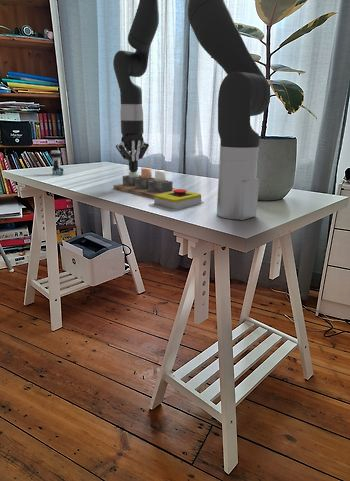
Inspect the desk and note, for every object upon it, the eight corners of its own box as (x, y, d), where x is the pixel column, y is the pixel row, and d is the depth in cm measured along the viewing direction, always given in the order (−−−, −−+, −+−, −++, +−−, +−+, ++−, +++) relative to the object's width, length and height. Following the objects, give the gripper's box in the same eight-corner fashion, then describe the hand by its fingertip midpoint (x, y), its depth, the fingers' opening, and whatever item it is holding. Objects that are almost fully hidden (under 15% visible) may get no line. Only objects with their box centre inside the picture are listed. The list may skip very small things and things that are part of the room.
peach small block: (153, 180, 115) (153, 168, 113) (145, 181, 113) (145, 169, 111) (147, 179, 117) (146, 167, 116) (139, 180, 115) (139, 168, 114)
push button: (69, 174, 147) (66, 150, 144) (59, 176, 143) (56, 151, 140) (58, 173, 151) (56, 150, 147) (48, 174, 146) (46, 150, 143)
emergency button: (206, 189, 100) (169, 197, 90) (205, 204, 101) (169, 213, 91) (183, 185, 106) (146, 191, 96) (183, 199, 107) (147, 206, 97)
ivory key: (167, 183, 110) (167, 171, 109) (160, 184, 108) (159, 172, 107) (160, 182, 112) (160, 169, 111) (152, 183, 110) (152, 170, 109)
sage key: (140, 183, 120) (140, 172, 119) (133, 184, 118) (132, 173, 117) (134, 182, 122) (134, 171, 121) (127, 183, 120) (126, 172, 119)
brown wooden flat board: (181, 193, 113) (182, 180, 111) (154, 198, 105) (154, 185, 103) (140, 184, 127) (139, 173, 126) (113, 188, 119) (112, 176, 118)
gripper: (122, 119, 106) (124, 175, 112) (154, 119, 115) (154, 171, 121) (108, 119, 111) (111, 172, 117) (140, 119, 120) (141, 169, 126)
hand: (133, 171), depth 119 cm, fingers closed
